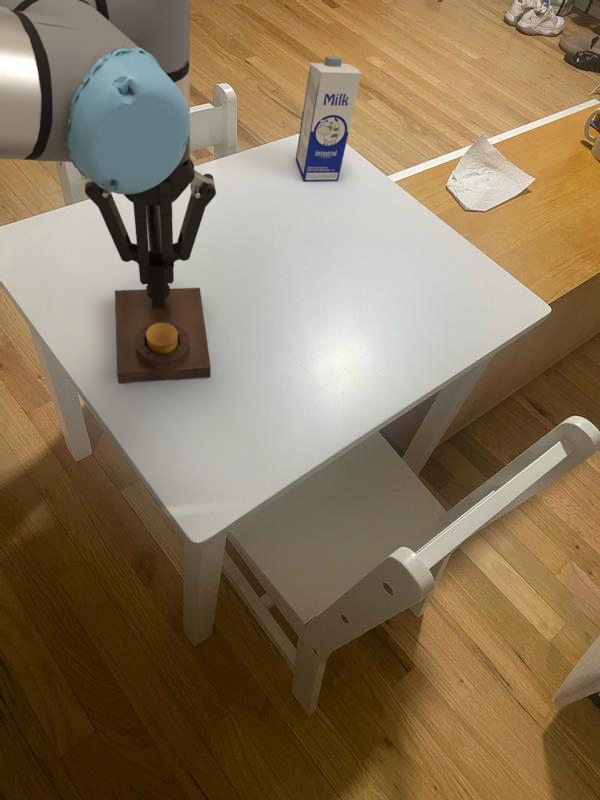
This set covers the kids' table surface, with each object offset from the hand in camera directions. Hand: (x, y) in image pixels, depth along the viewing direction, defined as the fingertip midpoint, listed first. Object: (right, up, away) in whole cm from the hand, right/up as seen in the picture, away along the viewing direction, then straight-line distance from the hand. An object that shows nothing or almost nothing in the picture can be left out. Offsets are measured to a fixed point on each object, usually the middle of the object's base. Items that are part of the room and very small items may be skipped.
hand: (158, 300), depth 73 cm
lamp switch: (-1, -5, +7) cm, 8 cm away
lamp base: (-2, -3, +12) cm, 12 cm away
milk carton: (+20, +31, +41) cm, 55 cm away
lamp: (-3, +4, +12) cm, 13 cm away
